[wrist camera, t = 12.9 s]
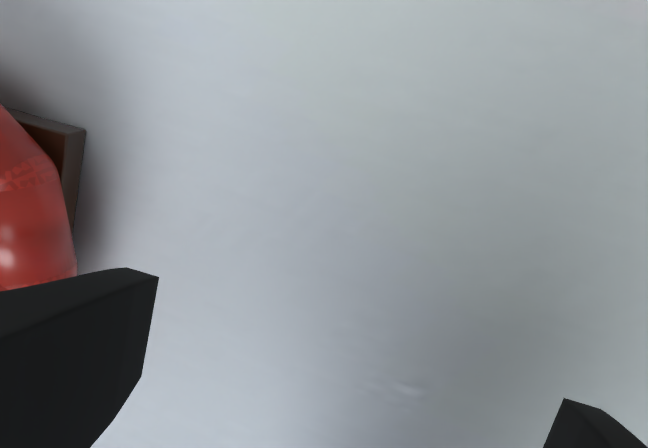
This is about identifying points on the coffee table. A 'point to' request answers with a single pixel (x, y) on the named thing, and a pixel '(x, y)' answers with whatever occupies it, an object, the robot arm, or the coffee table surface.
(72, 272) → the ring
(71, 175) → the post
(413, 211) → the coffee table surface
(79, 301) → the robot arm
